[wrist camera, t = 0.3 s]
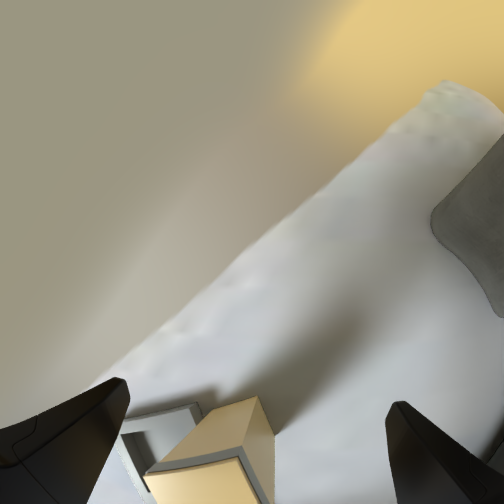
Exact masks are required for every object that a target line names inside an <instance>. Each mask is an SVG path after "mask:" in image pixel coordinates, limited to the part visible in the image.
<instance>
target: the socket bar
mask: <svg viewBox="0 0 504 504" xmlns="http://www.w3.org/2000/svg"><path fill="white" fill-rule="evenodd" d="M203 419H204V418H203V416H202V413H201V411H200V408H199V406H198V403H197V402H196V403H192V404H189V405H185V406H181V407H177V408H173V409H169V410H165V411H160V412H156V413H151V414H147V415H142V416H137V417H132V418H127V419H124V420H123V423H122V426H121V429H120V432H119V435H118V437H117V439H116V441H115V443H114V444H115V446H116V448H117V451H118V453H119V455H120V457H121V459H122V461H123V464H124V466H125V468H126V470H127V472H128V474H129V476H130V478H131V480H132V482H133V484H134V485H135V487H136V489H137V491H138V493H139V495H140V497H141V498H142V500H143V502H144V504H157V502H156V500H155V498H154V497H153V495H152V493H151V491H150V489H149V488H148V486H147V484H146V482H145V480H144V478H143V476H144V475H145V474H146V473H145V472H146V471H147V470H149V469H150V468H151V467H152V466H153V465H154V464H155V463H159V462H160V461H161V460H162V459H163V458H164V457H165V456H166V455H167V454H168V453H169V452H170V451H171V450H172V449H173V448H174V447H176V446H177V445H178V444H179V443H180V442H181V441H182V440H183V439H184V438H185V437H186V436H187V435H188V434H189V433H190V432H191V431H192V430H193V429H194V428H195V427H196V426H197V425H198V424H199V423H200V422H201V421H202V420H203Z"/></svg>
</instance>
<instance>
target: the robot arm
mask: <svg viewBox="0 0 504 504" xmlns="http://www.w3.org/2000/svg"><path fill="white" fill-rule="evenodd" d="M129 403H130V394H129V390H128V386H127V383H126V381H125V380H124V379H121V378H117V377H113V378H111V379H109V380H107V381H105V382H103V383H101V384H99V385H97V386H96V387H94V388H92V389H90V390H88V391H86V392H84V393H82V394H80V395H78V396H76V397H74V398H71V399H70V400H67V401H65V402H63V403H61V404H59V405H57V406H55V407H53V408H51V409H49V410H47V411H44V412H42V413H40V414H38V415H36V416H34V417H31V418H29V419H27V420H25V421H22V422H20V423H17V424H15V425H11V426H9V427H6V428H2V429H0V504H87V502H88V499H89V497H90V495H91V493H92V491H93V488H94V486H95V484H96V482H97V480H98V477H99V475H100V473H101V471H102V469H103V467H104V465H105V462H106V460H107V458H108V456H109V454H110V452H111V450H112V448H113V446H114V443H115V441H116V439H117V437H118V435H119V432H120V429H121V426H122V423H123V420H124V417H125V414H126V411H127V409H128V406H129ZM385 427H386V435H387V445H388V455H389V462H390V467H391V472H392V477H393V482H394V487H395V492H396V498H397V503H398V504H504V475H503V474H501V473H499V472H498V471H496V470H494V469H493V468H491V467H490V466H488V465H487V464H485V463H484V462H482V461H481V460H480V459H478V458H477V457H476V456H474V455H473V454H472V453H470V452H469V451H468V450H467V449H465V448H464V447H463V446H461V445H460V444H459V443H458V442H456V441H455V440H454V439H452V438H451V437H450V436H449V435H447V434H446V433H445V432H444V431H442V430H441V429H440V428H439V427H437V426H436V425H435V424H433V423H432V422H431V421H430V420H428V419H427V418H426V417H425V416H423V415H422V414H421V413H420V412H418V411H417V410H416V409H415V408H413V407H412V406H411V405H410V404H408V403H407V402H406V401H396V402H394V403H393V404H392V406H391V408H390V410H389V412H388V415H387V417H386V420H385Z"/></svg>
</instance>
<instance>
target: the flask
mask: <svg viewBox="0 0 504 504" xmlns="http://www.w3.org/2000/svg"><path fill="white" fill-rule="evenodd" d="M431 227H432V231H433V234H434V235H435V237H436V238H437V239H438V241H439V242H440V243H441V244H442V245H444V246H445V247H446V248H447V249H448V250H450V251H451V252H452V253H453V254H455V255H456V256H457V257H458V258H459V259H460V260H461V261H462V262H463V263H464V264H465V265H466V266H467V268H468V269H469V270H470V271H471V272H472V273H473V275H474V276H475V278H476V279H477V280H478V282H479V283H480V285H481V287H482V288H483V290H484V291H485V293H486V295H487V298H488V300H489V302H490V304H491V306H492V308H493V310H494V312H495V313H496V314H497V315H498V316H499V317H503V318H504V134H503V135H502V136H501V138H500V139H499V140H498V141H497V142H496V144H495V145H494V146H493V147H492V148H491V149H490V150H489V152H488V153H487V154H486V155H485V156H484V157H483V158H482V159H481V161H480V162H479V163H478V164H477V165H476V166H475V167H474V168H473V169H472V170H471V172H470V173H469V174H468V175H467V176H466V177H465V178H464V179H463V180H462V181H461V182H460V183H459V184H458V185H457V186H456V187H455V188H454V189H453V190H452V191H451V192H450V193H449V195H448V196H447V197H446V198H445V199H444V200H443V201H442V202H441V203H440V204H439V205H437V206H436V207H435V208H434V210H433V212H432V214H431Z"/></svg>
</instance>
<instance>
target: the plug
mask: <svg viewBox="0 0 504 504" xmlns="http://www.w3.org/2000/svg"><path fill="white" fill-rule="evenodd" d="M145 473H146V474H145V475H144V476H143V478H144V480H145V482H146V484H147V486H148V488H149V489H150V491H151V493H152V495H153V497H154V498H155V500H156V502H157V504H274V488H275V436H274V434H273V432H272V429H271V427H270V424H269V422H268V420H267V417H266V415H265V412H264V410H263V408H262V405H261V403H260V400H259V398H258V396H255V397H252V398H249V399H246V400H243V401H240V402H236V403H233V404H230V405H227V406H223V407H220V408H216V409H213V410H211V412H210V413H209V414H208V415H207V416H206V417H205V418H204V419H203V420H202V421H201V422H200V423H199V424H198V425H197V426H196V427H195V428H194V429H193V430H192V431H191V432H190V433H189V434H188V435H187V436H186V437H185V438H184V439H183V440H182V441H181V442H180V443H179V444H178V445H177V446H176V447H174V448H173V449H172V450H171V451H170V452H169V453H168V454H167V455H166V456H165V457H164V458H163V459H162V460H161V461H160V462H159V463H155V464H154V465H153V466H152V467H151V468H150V469H149V470H147V471H146V472H145Z"/></svg>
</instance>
